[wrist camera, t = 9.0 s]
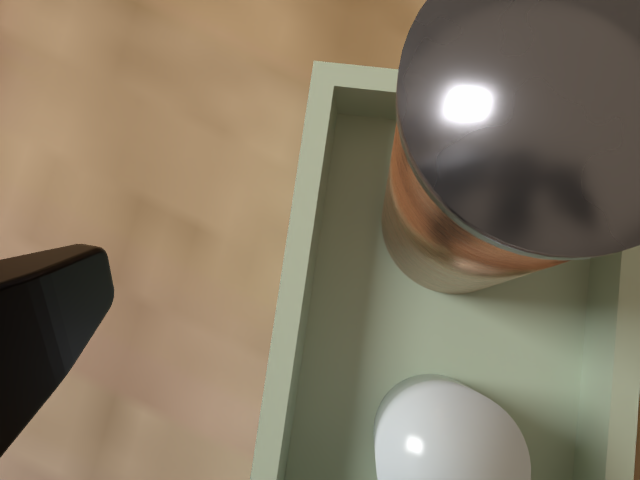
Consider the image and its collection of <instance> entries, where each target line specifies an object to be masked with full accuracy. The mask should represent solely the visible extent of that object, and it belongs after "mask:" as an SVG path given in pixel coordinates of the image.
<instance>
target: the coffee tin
mask: <svg viewBox="0 0 640 480" xmlns="http://www.w3.org/2000/svg"><path fill="white" fill-rule="evenodd" d="M395 107H396V120H397V122H396V128H395V134H394V141H393V147H392V153H391V159H390V166H389V172H388V178H387V184H386V191H385V197H384V203H383V210H382V220H381V224H382V234H383V238H384V242H385V245H386V248H387V250H388V252H389V254H390V256H391V258H392V260H393V261H394V262H395V264H396V265H397V267H398V268H399V269H400V270H401V271H402V272H403V273H404V274H405V275H406V276H407V277H409V278H410V279H411V280H413V281H414V282H416V283H417V284H419V285H421V286H423V287H425V288H427V289H430V290H433V291H436V292H441V293H446V294H466V293H471V292H475V291H479V290H482V289H485V288H488V287H491V286H494V285H497V284H500V283H503V282H506V281H509V280H512V279H516V278H519V277H522V276H525V275H528V274H531V273H534V272H537V271H540V270H543V269H546V268H550V267H553V266H556V265H559V264H562V263H565V262H568V261H571V260H582V259H590V258H596V257H601V256H606V255H610V254H614V253H617V252H620V251H624V250H627V249H630V248H633V247H636V246H639V245H640V0H427V1H426V2H425V4H424V5H423V7H422V8H421V9H420V11H419V12H418V14H417V16H416V18H415V20H414V22H413V24H412V26H411V28H410V30H409V33H408V36H407V38H406V41H405V44H404V47H403V50H402V55H401V60H400V65H399V70H398V77H397V85H396V101H395Z"/></svg>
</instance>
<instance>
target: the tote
mask: <svg viewBox="0 0 640 480" xmlns="http://www.w3.org/2000/svg"><path fill="white" fill-rule="evenodd" d="M398 70H399V69H389V68H379V67H370V66H360V65H350V64H341V63H331V62H321V61H314V63H313V69H312V76H311V83H310V89H309V96H308V102H307V109H306V115H305V122H304V129H303V135H302V142H301V148H300V155H299V161H298V168H297V175H296V181H295V188H294V194H293V201H292V207H291V214H290V221H289V227H288V234H287V240H286V247H285V254H284V260H283V267H282V273H281V280H280V286H279V293H278V300H277V306H276V313H275V319H274V326H273V332H272V339H271V346H270V352H269V359H268V365H267V372H266V379H265V385H264V392H263V398H262V405H261V411H260V418H259V425H258V431H257V438H256V444H255V451H254V457H253V464H252V471H251V477H250V480H378V479H377V472H376V460H375V449H374V436H373V426H374V419H375V415H376V412H377V409H378V407H379V405H380V403H381V401H382V399H383V398H384V396H385V395H386V394H387V393H388V392H389V390H390V389H392V388H393V387H394V386H395V385H396V384H398V383H399V382H401V381H402V380H405V379H407V378H409V377H412V376H415V375H420V374H440V375H444V376H448V377H450V378H453V379H455V380H457V381H459V382H461V383H463V384H464V385H466V386H468V387H470V388H471V389H473V390H475V391H477V392H479V393H480V394H482V395H484V396H486V397H487V398H489V399H491V400H492V401H494V402H495V403H497V404H498V405H499V406H500V407H501V408H503V409H504V410H505V411H506V412H507V413H508V414H509V415H510V417H511V418H512V419H513V420H514V422H515V423H516V424H517V426H518V427H519V429H520V431H521V433H522V435H523V437H524V439H525V442H526V445H527V447H528V451H529V456H530V463H531V480H634V466H635V452H636V437H637V422H638V408H639V393H640V245H639V246H636V247H633V248H630V249H627V250H624V251H620V252H617V253H614V254H610V255H606V256H601V257H596V258H590V259H582V260H571V261H568V262H565V263H562V264H559V265H556V266H553V267H550V268H546V269H543V270H540V271H537V272H534V273H531V274H528V275H525V276H522V277H519V278H516V279H512V280H509V281H506V282H503V283H500V284H497V285H494V286H491V287H488V288H485V289H482V290H479V291H475V292H471V293H466V294H446V293H441V292H436V291H433V290H430V289H427V288H425V287H423V286H421V285H419V284H417V283H416V282H414V281H413V280H411V279H410V278H409V277H407V276H406V275H405V274H404V273H403V272H402V271H401V270H400V269H399V268H398V267H397V265H396V264H395V262H394V261H393V260H392V258H391V256H390V254H389V252H388V250H387V248H386V245H385V242H384V238H383V234H382V224H381V220H382V210H383V203H384V197H385V191H386V184H387V178H388V172H389V166H390V159H391V153H392V147H393V141H394V134H395V128H396V122H397V120H396V107H395V101H396V85H397V77H398Z"/></svg>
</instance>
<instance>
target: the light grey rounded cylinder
mask: <svg viewBox="0 0 640 480" xmlns="http://www.w3.org/2000/svg"><path fill="white" fill-rule="evenodd" d="M373 436H374V449H375V460H376V472H377V479H378V480H531V463H530V456H529V451H528V447H527V445H526V442H525V439H524V437H523V435H522V433H521V431H520V429H519V427H518V426H517V424H516V423H515V422H514V420H513V419H512V418H511V417H510V415H509V414H508V413H507V412H506V411H505V410H504V409H503V408H501V407H500V406H499V405H498V404H497V403H495V402H494V401H492V400H491V399H489V398H487V397H486V396H484V395H482V394H480V393H479V392H477V391H475V390H473V389H471V388H470V387H468V386H466V385H464V384H463V383H461V382H459V381H457V380H455V379H453V378H450V377H448V376H444V375H440V374H420V375H415V376H412V377H409V378H407V379H405V380H402V381H401V382H399V383H398V384H396V385H395V386H394V387H393V388H392V389H390V390H389V392H388V393H387V394H386V395H385V396H384V398H383V399H382V401H381V403H380V405H379V407H378V409H377V412H376V415H375V419H374V426H373Z"/></svg>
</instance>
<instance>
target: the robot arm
mask: <svg viewBox="0 0 640 480" xmlns="http://www.w3.org/2000/svg"><path fill="white" fill-rule="evenodd" d="M113 298H114V287H113V282H112V276H111V271H110V266H109V261H108V256H107V253H106V252H105V250H104V249H102V248H101V247H97V246H91V245H85V244H74V245H70V246H65V247H60V248H55V249H50V250H45V251H41V252H36V253H31V254H26V255H21V256H16V257H12V258H7V259H2V260H0V457H1V456H2V455H3V454H4V452H5V451H6V450H7V449H8V447H9V446H10V445H11V444H12V443H13V441H14V440H15V439H16V438H17V436H18V435H19V434H20V433H21V431H22V430H23V429H24V428H25V426H26V425H27V424H28V423H29V422H30V420H31V419H32V418H33V417H34V415H35V414H36V413H37V412H38V410H39V409H40V408H41V407H42V406H43V404H44V403H45V402H46V401H47V399H48V398H49V397H50V396H51V394H52V393H53V392H54V391H55V389H56V388H57V387H58V386H59V384H60V383H61V382H62V380H63V379H64V378H65V377H66V375H67V374H68V372H69V371H70V369H71V368H72V366H73V365H74V364H75V362H76V360H77V359H78V357H79V356H80V354H81V353H82V351H83V349H84V348H85V346H86V345H87V343H88V342H89V340H90V338H91V337H92V335H93V334H94V332H95V331H96V329H97V328H98V326H99V324H100V323H101V321H102V320H103V318H104V317H105V315H106V313H107V312H108V310H109V309H110V307H111V305H112V302H113Z"/></svg>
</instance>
